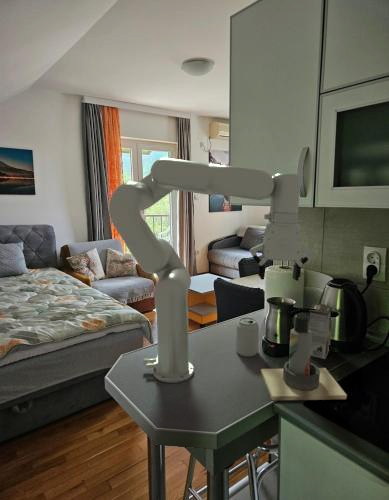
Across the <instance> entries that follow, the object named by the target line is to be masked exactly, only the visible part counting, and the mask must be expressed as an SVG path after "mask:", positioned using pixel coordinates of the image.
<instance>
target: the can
mask: <svg viewBox="0 0 389 500" xmlns="http://www.w3.org/2000/svg"><path fill="white" fill-rule="evenodd" d="M259 328H260V327H259V324H258V321H257V319H256V318H253V317H249V316H248V317H247V316H246V317H240V318H239V319H238V320H237V322H236V333H235V334H236V336H235V337H236V340H235V343H236V344H235V346H236V349H235V350H236V352H237V353H238V355H240V356H242V357H247V358H251V357H255V355H257V354H258V352H259V330H260V329H259Z"/></svg>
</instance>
